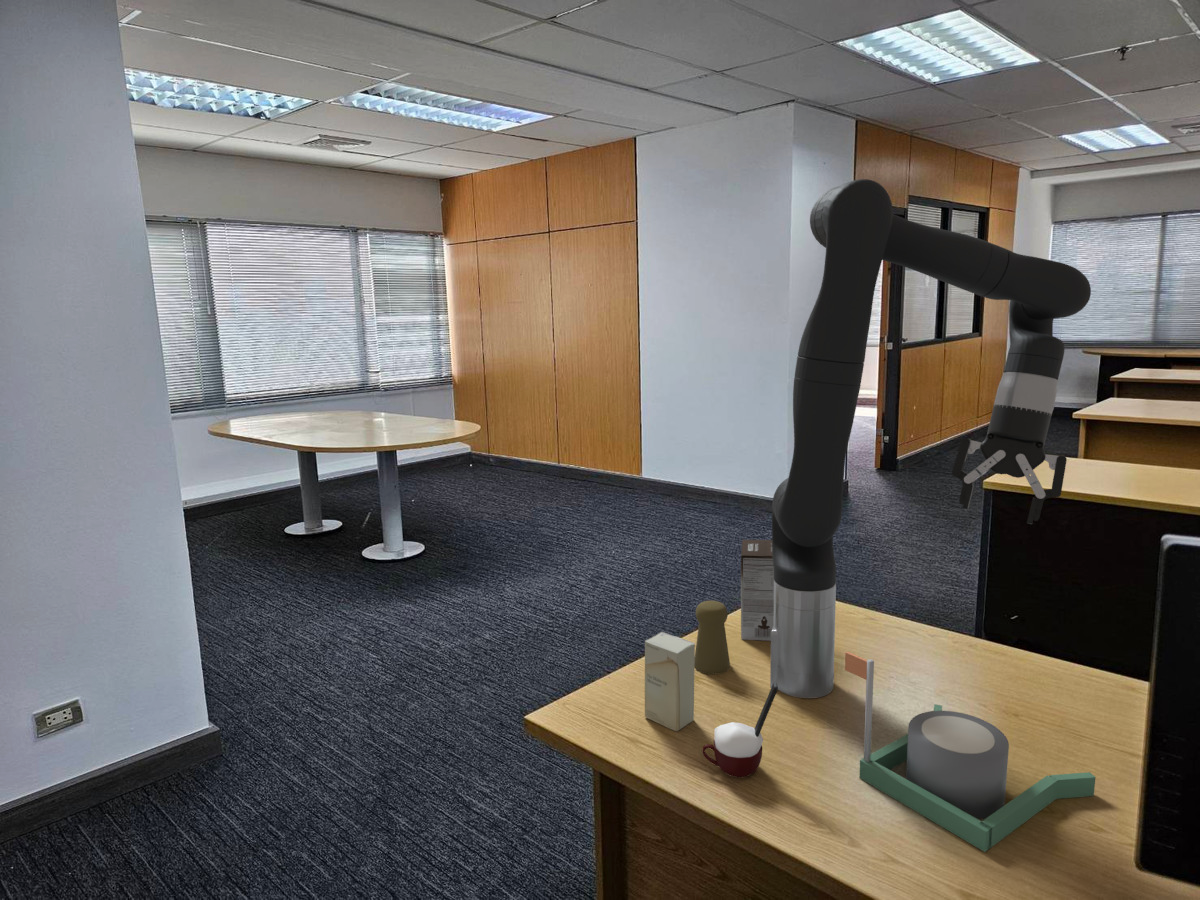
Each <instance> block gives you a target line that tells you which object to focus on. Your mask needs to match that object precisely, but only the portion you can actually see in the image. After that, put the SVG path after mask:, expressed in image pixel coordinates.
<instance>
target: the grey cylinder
mask: <svg viewBox="0 0 1200 900" xmlns="http://www.w3.org/2000/svg"><path fill="white" fill-rule="evenodd" d="M907 731H908V732H907V734H908V746H907V760H906V772H905V775H906V776H905V779H907V780H909V781H910V782H912V783H914V784H916V785H918V786H919V787H921V788H923V789H925V790H926V791H928V792H930V793H932V794H934V795H935V796H937V797H939V798H941V799H943V800H944V801H946V802H948V803H950V804H951V805H953V806H955V807H957V808H959V809H960V810H962V811H964V812H966V813H968V814H969V815H971V816H973V817H975V818H976V819H978V820H985V819H986V818H987V817H989V816H990V815H992V814H993V813H995V812H996V811H997V810H999V809H1000V808H1002V807H1003V806H1004V805H1006V804H1005V802H1006V793H1007V792H1006V788H1007V779H1008V778H1007V777H1008V763H1009V761H1008V760H1009V749H1010V748H1009V747H1010V744H1009V740H1008V737H1007V736H1006V735H1005V734H1004V733H1003V731H1001V730H1000V729H999V728H998V727H997V726H995V725H993V724H992V723H990V722H988V721H987V720H984V719H981V718H980V717H976V716H974V715H970V714H968V713H964V712H958V711H952V710H942V711H934V710H931V711H929V710H928V711H924V712H921V713H919V714H917V715H915V716H913V717H912V718H911V719H910V720H909V722H908V729H907Z"/></svg>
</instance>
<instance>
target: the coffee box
mask: <svg viewBox="0 0 1200 900" xmlns="http://www.w3.org/2000/svg"><path fill="white" fill-rule="evenodd" d="M740 552H741V553H740V632H741V633H740V635H741V638H740V639H741V640H747V641H749V640H750V641H767V642H768V641H769V642H771V630H772V628H773V616H774V567H773V557H772V539H742V541H741V550H740Z"/></svg>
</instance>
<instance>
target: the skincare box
mask: <svg viewBox="0 0 1200 900" xmlns="http://www.w3.org/2000/svg"><path fill="white" fill-rule="evenodd" d="M695 651H696V644H695V642H693V641H689V640H688V639H684V638H681V637H679V636H676V635H675V636H674V635H673V634H669V633H667V632H664V631H660V632H659V633H656V634H654V635H653V636H650V637H649V638H648V639H645V640H644V717H645V718H646V719H649V720H650V721H653V722H654V723H657V724H659V725H661V726H664V727H666V728H667V729H670V730H672V731H673V732H674V731H675V732H678V731H680V730H681V729H683V728H685V727H686V726H687V725H689V724H690V723H691V722H693V721H694V720H695V719H694V718H695V717H694V716H695V713H694V712H695V668H694V662H695Z"/></svg>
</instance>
